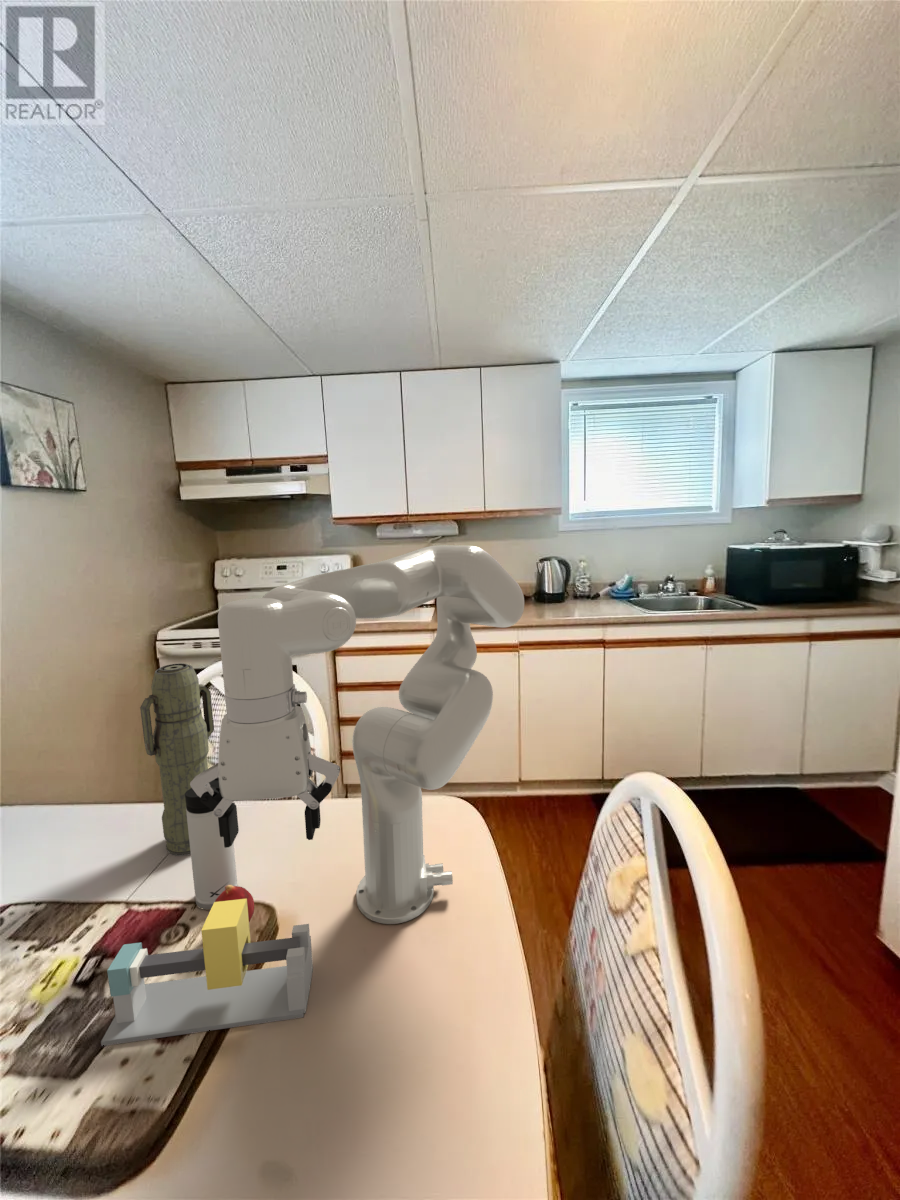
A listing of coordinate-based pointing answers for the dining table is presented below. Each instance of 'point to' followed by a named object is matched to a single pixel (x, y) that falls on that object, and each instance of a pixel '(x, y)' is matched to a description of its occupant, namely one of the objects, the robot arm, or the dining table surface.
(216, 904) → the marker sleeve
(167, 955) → the grey long frame
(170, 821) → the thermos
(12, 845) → the dining table surface
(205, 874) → the travel mug
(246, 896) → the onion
